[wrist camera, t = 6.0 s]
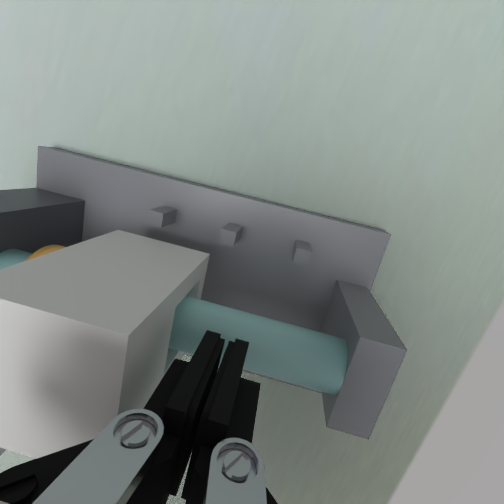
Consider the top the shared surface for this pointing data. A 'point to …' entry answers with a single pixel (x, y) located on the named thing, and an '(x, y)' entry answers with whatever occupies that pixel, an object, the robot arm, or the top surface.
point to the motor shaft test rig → (234, 273)
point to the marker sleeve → (87, 336)
